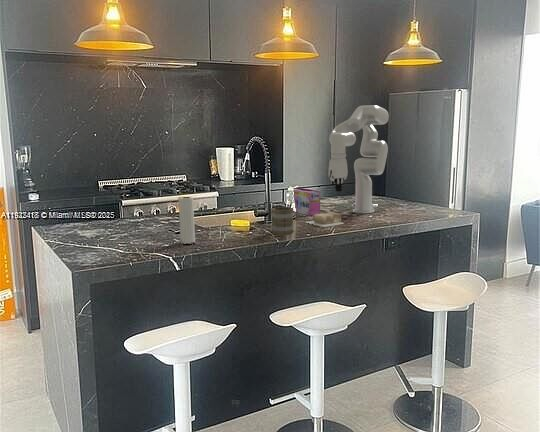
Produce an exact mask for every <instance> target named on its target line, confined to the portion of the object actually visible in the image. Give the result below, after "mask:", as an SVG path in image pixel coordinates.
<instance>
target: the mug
mask: <svg viewBox="0 0 540 432" xmlns="http://www.w3.org/2000/svg"><path fill="white" fill-rule="evenodd" d="M271 225H272V226H271V227H272V229H271V233H273V235H275V234H276V236H288V235H293V233H294V212H293V208H290V207H289V206H278V207H272V208H271Z"/></svg>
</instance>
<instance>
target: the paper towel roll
mask: <svg viewBox="0 0 540 432" xmlns="http://www.w3.org/2000/svg"><path fill="white" fill-rule="evenodd" d="M177 198H178V199H177V200H178V216H179V236H180V237H179V239H180V241H181V240H182V242H184V243H191V242H195V243H196V234H195V231H196V230H195V228H196V227H195V212H194V210H195V209H194V207H195V206H194V197H193V196H178V197H177ZM182 242H181V243H182Z"/></svg>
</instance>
